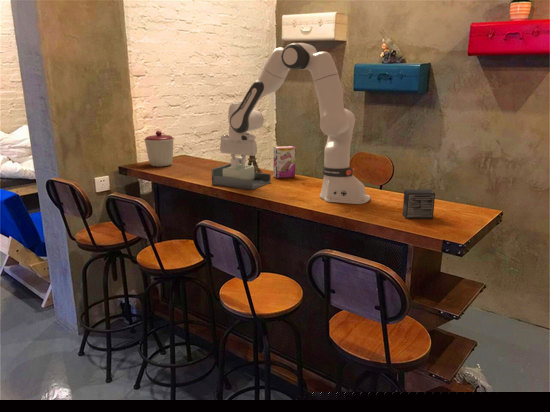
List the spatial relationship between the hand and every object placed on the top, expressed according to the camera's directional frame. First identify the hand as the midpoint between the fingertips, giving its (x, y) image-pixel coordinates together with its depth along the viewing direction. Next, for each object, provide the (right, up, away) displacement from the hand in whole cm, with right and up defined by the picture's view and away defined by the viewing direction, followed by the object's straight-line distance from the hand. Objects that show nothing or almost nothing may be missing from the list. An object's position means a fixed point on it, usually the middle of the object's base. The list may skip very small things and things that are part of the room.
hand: (238, 163), depth 229 cm
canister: (-52, +3, +49) cm, 71 cm away
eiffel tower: (+6, -6, +18) cm, 20 cm away
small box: (+74, -26, -52) cm, 94 cm away
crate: (0, -9, +3) cm, 9 cm away
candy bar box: (+24, -6, +17) cm, 30 cm away
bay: (+1, -10, +2) cm, 11 cm away
